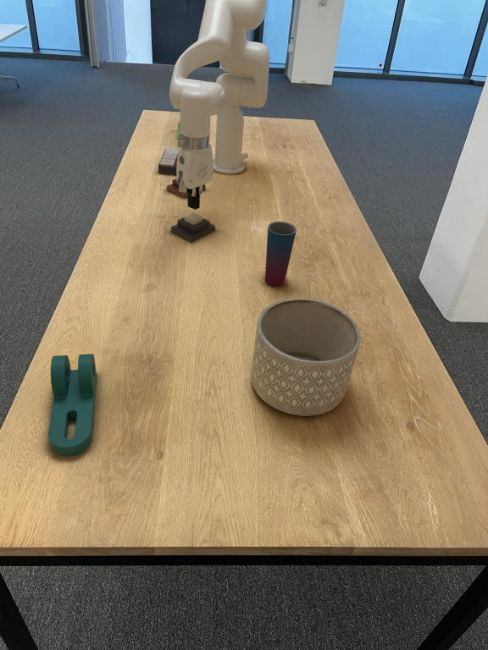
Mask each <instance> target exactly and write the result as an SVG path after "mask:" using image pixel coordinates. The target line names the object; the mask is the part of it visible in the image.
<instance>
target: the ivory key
mask: <svg viewBox="0 0 488 650" xmlns="http://www.w3.org/2000/svg"><path fill="white" fill-rule="evenodd" d="M184 217H185V221H186V222H188V223H190V224H192V225H196V224H198V223H200V222H202V218H204V217H203V215H200V214H198V213H196V212H194V211H192V212H191V213H188V214H185V215H184Z"/></svg>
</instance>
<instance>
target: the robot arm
mask: <svg viewBox="0 0 488 650" xmlns="http://www.w3.org/2000/svg"><path fill="white" fill-rule="evenodd" d="M267 9H268V0H205V5H204V10H203V14H202V19H201V23H200V28H199V32H198V38H197V40H196V41H195V42H194V43H193V44H191V45H190V46H189V47H188V48H186V49H185V50H184V52H183V53H181V55H180V56H179V57H178V59H177V60H176V62H175V64H174V67H173V71H172V76H171V79H170V84H169V92H168V93H169V102H170V104H171V106H172V107H173V108H174V109H176V110H178V111H179V114H180V115H179V121H180V141H179V140H178V144H179V147H178V150H179V151H178V158H177V172H176V175H175V176H176V178H177V183H178V184H179V191H180V192H186V194H188V197H187V205H186V206H187V207H188V208H189V209H192V210H194V211H196V210H198V209H200V208H201V194H202V193H203V191H202V188H203V187H204V185H205V186H206V185H207V184H209V183H210V182H212V180H213V179H214V171H215V172H217V173H221V174H226V175H227V174H228V175H234V174H239V173H242V172H244V170H245V169H246V165H245V163H244V162H243V161H244V160H245V159H247V158H248V157H249V153H248V152H243V138H244V128H245V127H244V126H245V118H244V115H243V112H242V110H241V109H240V107H243V108H244V107H245V108H254V109H255V108H256V109H260V108H263V107H265V104H266V103H267V100H268V92H269V91H268V90H269V77H270V76H269V75H270V51H269V48H268V46H267V45H266V44H264V43H262V42H258V41H250V40H248V39H247V31H255V30H257V28H258V27H260V25H262V23H263V21H264V20H265V17H266V15H267ZM216 62H219V66H220V68H221V70H222V71H224V72H225V73H221V74H220V75H218V77H217V78H216V80H215V81H214V82H213V81H205V80H199V79H193V78H188V76H189V75H190V74H191V73H192V72H194V71H195V70H197V69H198V68H201V67H204V66H207V65H210V64H213V63H216ZM214 115H215V116H216V127H215V146H214V147H215V149H214V156H213V148H212V145H211V143H210V139H211V117H212V116H214ZM242 152H243V153H242Z"/></svg>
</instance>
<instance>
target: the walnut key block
mask: <svg viewBox="0 0 488 650" xmlns="http://www.w3.org/2000/svg"><path fill="white" fill-rule="evenodd" d="M204 191H206V184H205V185H204V187H203V188H202V192H204ZM166 192H169V193H171V194H173V195H175V196H177V197H180V198H182V199H188V194H186V192H180V191H179V184H178V183H177V177H176V178H174V179H172V180H171V184H168V185H166Z"/></svg>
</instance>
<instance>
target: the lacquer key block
mask: <svg viewBox="0 0 488 650" xmlns="http://www.w3.org/2000/svg"><path fill="white" fill-rule="evenodd" d="M215 231H216V224H213V223H211V221H210V220H209V219H206V218H204V217H203V218H202V222H200V223H198V224H196V225H192V224H190V223H188V222H186V221H185V216H183V217H182V218H178V219H177V220H176V224H174V225H172V226H170V233H171V234H174V235H175V236H178V237H179V238H182V239H184V240H186V241H187V242H190V243H193V242H195V241H197V240H199V239H201V238H203V237H205V236H207V235H209V234H211V233H213V232H215Z"/></svg>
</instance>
